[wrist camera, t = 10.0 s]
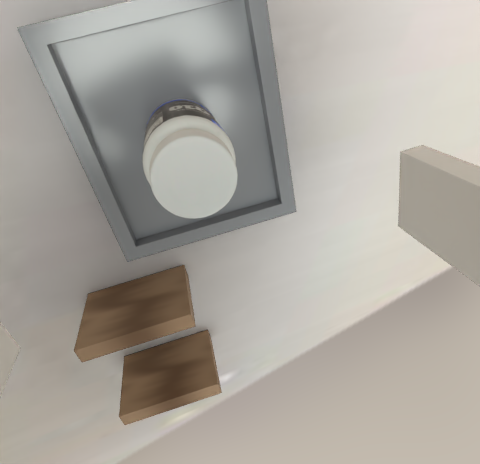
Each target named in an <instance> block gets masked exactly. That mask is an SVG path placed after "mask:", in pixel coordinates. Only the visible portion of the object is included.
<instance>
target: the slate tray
mask: <svg viewBox="0 0 480 464" xmlns="http://www.w3.org/2000/svg"><path fill="white" fill-rule="evenodd" d="M17 29H18V31H19V33H20V35H21V37H22V39H23V42H24V44H25V46H26V48H27V50H28V52H29V54H30V56H31V58H32V61H33V63H34V65H35V67H36V69H37V71H38V73H39V75H40V78H41V80H42V82H43V84H44V86H45V88H46V90H47V92H48V95H49V97H50V99H51V101H52V103H53V105H54V107H55V109H56V112H57V114H58V116H59V118H60V120H61V122H62V124H63V126H64V128H65V131H66V133H67V135H68V137H69V139H70V141H71V143H72V145H73V148H74V150H75V152H76V154H77V156H78V158H79V160H80V162H81V165H82V167H83V169H84V171H85V173H86V175H87V177H88V179H89V182H90V184H91V186H92V188H93V190H94V192H95V194H96V196H97V199H98V201H99V203H100V205H101V207H102V209H103V211H104V213H105V215H106V218H107V220H108V222H109V224H110V226H111V228H112V230H113V232H114V235H115V237H116V239H117V241H118V243H119V245H120V247H121V249H122V252H123V254H124V256H125V258H126V260H127V262H129V261H132V260H136V259H139V258H142V257H146V256H149V255H153V254H156V253H159V252H163V251H166V250H169V249H173V248H176V247H179V246H183V245H186V244H189V243H193V242H196V241H199V240H203V239H206V238H210V237H213V236H216V235H220V234H223V233H226V232H230V231H233V230H236V229H240V228H243V227H246V226H250V225H253V224H257V223H260V222H263V221H267V220H270V219H273V218H277V217H280V216H283V215H287V214H290V213H293V212H296V205H295V198H294V191H293V184H292V177H291V170H290V163H289V156H288V149H287V142H286V135H285V128H284V121H283V114H282V106H281V99H280V92H279V85H278V78H277V71H276V64H275V57H274V50H273V43H272V36H271V29H270V22H269V15H268V8H267V1H266V0H131V1H127V2H123V3H119V4H114V5H110V6H106V7H102V8H98V9H93V10H89V11H85V12H81V13H77V14H72V15H68V16H64V17H60V18H56V19H51V20H47V21H43V22H39V23H35V24H30V25H26V26H22V27H18V28H17ZM173 99H188V100H192V101H195V102H197V103H199V104H201V105H202V106H204V107H205V108H206V109H207V110H208V111H209V112H210V113H211V114H212V115H213V116H214V118H215V119H216V121H217V122H218V123H219V125H220V126H221V127H222V129H223V130H224V131H225V133H226V134H227V136H228V137H229V139H230V141H231V143H232V145H233V148H234V152H235V158H236V168H237V175H238V176H237V186H236V189H235V192H234V194H233V196H232V198H231V199H230V201H229V202H228V203H227V204H226V205H225V206H224V207H223V208H222V209H221V210H219V211H218V212H216V213H214V214H212V215H210V216H207V217H203V218H195V219H194V218H184V217H180V216H177V215H174V214H173V213H171V212H169V211H168V210H166V209H165V208H164V207H163V206H162V205H161V204H160V203H159V202H158V201H157V199H156V198H155V196H154V194H153V192H152V189H151V186H150V184H149V182H148V180H147V178H146V176H145V173H144V169H143V162H142V160H143V149H144V139H145V130H146V126H147V122H148V120H149V118H150V116H151V114H152V113H153V112H154V110H155V109H156V108H157V107H159V106H160V105H161V104H163V103H165V102H167V101H170V100H173Z"/></svg>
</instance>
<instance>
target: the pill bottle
mask: <svg viewBox="0 0 480 464" xmlns="http://www.w3.org/2000/svg"><path fill="white" fill-rule="evenodd" d="M142 162H143V169H144V173H145V176H146V178H147V180H148V182H149V184H150V186H151V189H152V192H153V194H154V196H155V198H156V199H157V201H158V202H159V203H160V204H161V205H162V206H163V207H164V208H165V209H166V210H168V211H169V212H171V213H173V214H174V215H177V216H180V217H184V218H194V219H195V218H203V217H207V216H210V215H212V214H214V213H216V212H218V211H219V210H221V209H222V208H223V207H224V206H225V205H226V204H227V203H228V202H229V201H230V199H231V198H232V196H233V194H234V192H235V189H236V186H237V176H238V175H237V168H236V158H235V152H234V148H233V145H232V143H231V141H230V139H229V137H228V136H227V134H226V133H225V131H224V130H223V129H222V127H221V126H220V125H219V123H218V122H217V121H216V119H215V118H214V116H213V115H212V114H211V113H210V112H209V111H208V110H207V109H206V108H205V107H204V106H202V105H201V104H199V103H197V102H195V101H192V100H188V99H173V100H170V101H167V102H165V103H163V104H161V105H160V106H159V107H157V108H156V109H155V110H154V112H153V113H152V114H151V116H150V118H149V120H148V122H147V126H146V130H145V139H144V149H143V160H142Z"/></svg>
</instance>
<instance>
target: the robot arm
mask: <svg viewBox="0 0 480 464" xmlns="http://www.w3.org/2000/svg"><path fill="white" fill-rule="evenodd" d="M398 226H399V227H400V228H401V229H403V230H404V231H405V232H407V233H408V234H409V235H411V236H412V237H413V238H415V239H416V240H417V241H419V242H420V243H422V244H423V245H424V246H426V247H427V248H428V249H430V250H431V251H432V252H434V253H435V254H436V255H438V256H439V257H440V258H442V259H443V260H444V261H446V262H447V263H449V264H450V265H451V266H453V267H454V268H455V269H457V270H458V271H459V272H461V273H462V274H463V275H465V276H466V277H467V278H469V279H470V280H471V281H473V282H474V283H476V284H477V285H478V286H480V167H479V166H476V165H474V164H471V163H469V162H466V161H463V160H461V159H458V158H455V157H453V156H450V155H448V154H445V153H442V152H440V151H437V150H435V149H432V148H429V147H427V146H424V145H421V146H418V147H414V148H411V149H408V150H404V151H401V152H400V183H399V216H398ZM20 348H21V347H20V346H19V345H18V344H17V342H16V341H15V340H14V339H13V337H12V336H11V335H10V334H9V332H8V331H7V330H6V329H5V327H4V326H3V325H2V324H1V322H0V397H1V395H2V392H3V390H4V388H5V385H6V383H7V380H8V378H9V375H10V373H11V370H12V368H13V365H14V363H15V360H16V358H17V355H18V353H19V351H20Z"/></svg>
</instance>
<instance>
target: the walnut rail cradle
mask: <svg viewBox="0 0 480 464" xmlns="http://www.w3.org/2000/svg"><path fill="white" fill-rule="evenodd" d="M192 327H195V319H194V312H193V306H192V299H191V292H190V286H189V279H188V275H187V272H186V269H185V266H184V265H182V266H179V267H175V268H172V269H169V270H165V271H162V272H159V273H155V274H152V275H149V276H146V277H142V278H139V279H136V280H132V281H129V282H126V283H122V284H119V285H116V286H113V287H109V288H106V289H103V290H99V291H96V292H93V293H89V294H88V296H87V300H86V304H85V308H84V312H83V316H82V320H81V324H80V328H79V332H78V336H77V340H76V345H75V349H74V352H75V353H76V355H77V356H78V357H79V359H80V360H81V362H85V361H88V360H91V359H94V358H97V357H101V356H104V355H107V354H110V353H113V352H116V351H119V350H123V349H126V348H129V347H132V346H135V345H138V344H141V343H145V342H148V341H151V340H154V339H157V338H160V337H163V336H167V335H170V334H173V333H176V332H179V331H182V330H185V329H189V328H192ZM219 393H222V392H221V387H220V382H219V377H218V372H217V367H216V362H215V356H214V351H213V346H212V341H211V337H210V334H209V332H208V330H206V331H203V332H199V333H196V334H193V335H190V336H187V337H184V338H181V339H178V340H174V341H171V342H168V343H165V344H162V345H159V346H156V347H153V348H149V349H146V350H143V351H140V352H137V353H134V354H131V355H128V356H124V366H123V378H122V389H121V401H120V413H119V417H120V419H121V420H122V422H123V423H124V425H127V424H130V423H133V422H136V421H139V420H142V419H145V418H148V417H151V416H154V415H157V414H160V413H163V412H166V411H169V410H172V409H175V408H178V407H181V406H184V405H187V404H190V403H193V402H196V401H199V400H202V399H204V398H207V397H210V396H213V395H216V394H219Z"/></svg>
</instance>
